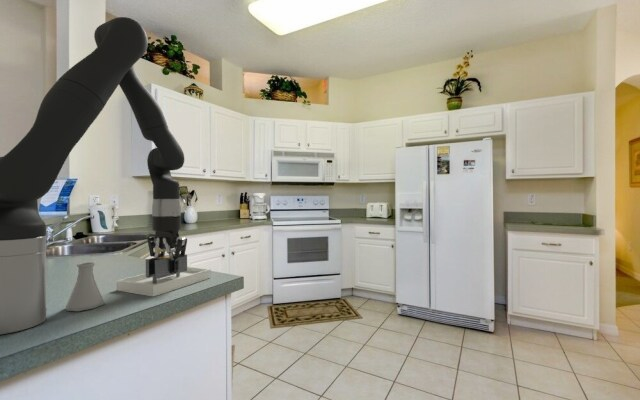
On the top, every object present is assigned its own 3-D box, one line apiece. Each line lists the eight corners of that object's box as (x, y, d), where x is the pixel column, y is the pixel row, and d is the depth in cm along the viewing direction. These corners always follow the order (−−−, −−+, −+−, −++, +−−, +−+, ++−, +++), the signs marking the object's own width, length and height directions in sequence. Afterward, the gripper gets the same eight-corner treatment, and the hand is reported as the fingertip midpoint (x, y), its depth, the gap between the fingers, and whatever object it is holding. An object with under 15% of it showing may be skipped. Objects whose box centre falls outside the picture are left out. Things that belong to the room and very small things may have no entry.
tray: (153, 296, 76) (153, 282, 76) (116, 290, 82) (116, 276, 82) (210, 277, 95) (210, 266, 95) (177, 273, 100) (177, 262, 100)
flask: (58, 309, 68) (58, 265, 68) (94, 299, 74) (94, 259, 74) (75, 314, 64) (75, 268, 65) (111, 304, 71) (111, 262, 71)
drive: (158, 278, 83) (158, 260, 83) (145, 277, 85) (145, 259, 85) (187, 270, 92) (187, 254, 92) (175, 269, 94) (175, 253, 94)
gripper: (138, 214, 88) (138, 272, 88) (173, 215, 82) (174, 277, 82) (160, 213, 95) (161, 267, 95) (194, 214, 89) (195, 271, 89)
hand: (167, 271), depth 88 cm, fingers closed on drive, 5 cm apart
